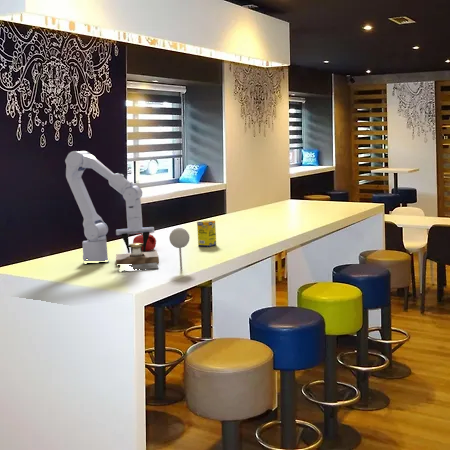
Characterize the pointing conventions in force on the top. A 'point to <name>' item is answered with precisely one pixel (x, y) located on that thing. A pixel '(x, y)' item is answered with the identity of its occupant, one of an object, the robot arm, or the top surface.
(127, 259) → the housing
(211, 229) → the supplement box
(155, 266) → the mat
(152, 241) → the pomegranate
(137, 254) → the gold rounded piece
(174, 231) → the lollipop
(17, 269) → the top surface
